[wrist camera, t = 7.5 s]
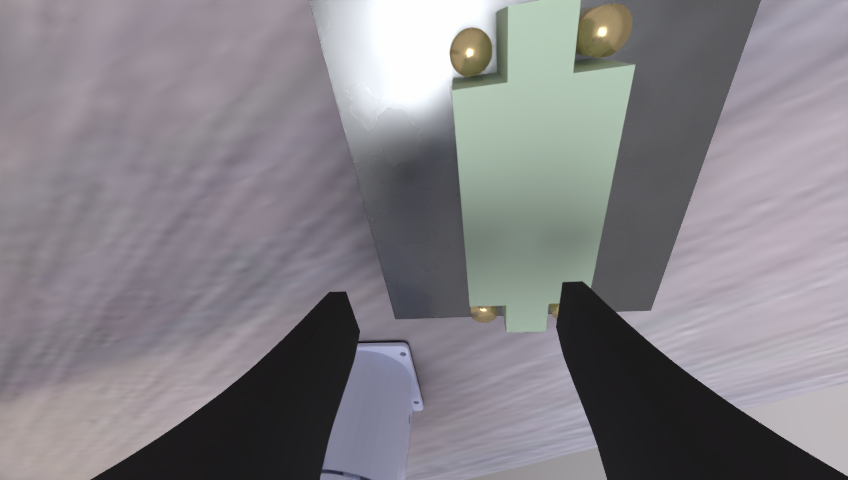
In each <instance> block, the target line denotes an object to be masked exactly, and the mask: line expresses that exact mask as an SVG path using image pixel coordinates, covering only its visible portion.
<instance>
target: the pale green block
mask: <svg viewBox="0 0 848 480" xmlns="http://www.w3.org/2000/svg"><path fill="white" fill-rule="evenodd" d="M580 4H581V0H538V1H533V2H527V3H521V4H516V5H510V6H507V7H505V8H503V9H501V10H499V11H497V12H496V56H497V72H495V73H488V74H481V75H477V76H473V77H461V78H454V79H453V80H452V99H453V111H454V123H455V135H456V147H457V159H458V171H459V183H460V195H461V207H462V219H463V231H464V243H465V255H466V267H467V279H468V291H469V303H470V307H476V306H502V310H503V316H504V322H505V328H506V332H545V331H546V324H547V315H548V305H549V304H555V303H560V296H561V289H562V282H576V281H583V282H584V283H585V284H587V285H588V286H589V287H590V288H591V285H592V280H593V275H594V270H595V265H596V260H597V255H598V250H599V245H600V240H601V235H602V230H603V225H604V220H605V215H606V210H607V205H608V200H609V195H610V190H611V185H612V180H613V175H614V170H615V165H616V160H617V155H618V150H619V145H620V140H621V135H622V130H623V125H624V120H625V115H626V110H627V105H628V100H629V95H630V90H631V85H632V80H633V75H634V70H635V64H630V63H624V62H618V61H612V60H606V59H600V58H591V59H584V60H577V61H574V60H575V51H576V41H577V32H578V22H579V13H580Z"/></svg>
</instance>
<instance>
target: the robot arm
mask: <svg viewBox="0 0 848 480" xmlns="http://www.w3.org/2000/svg"><path fill="white" fill-rule="evenodd" d="M556 328H557V332H558V336H559V340H560V344H561V348H562V352H563V355H564V359H565V361H566V364H567V367H568V369H569V372H570V374H571V377H572V380H573V382H574V385H575V387H576V390H577V392H578V395H579V398H580V400H581V403H582V405H583V408H584V410H585V413H586V416H587V418H588V421H589V423H590V426H591V428H592V431H593V434H594V437H595V440H596V443H597V446H598V449H599V452H600V456H601V459H602V463H603V466H604V470H605V473H606V477H607V480H848V476H846V475H844V474H843V473H841V472H839V471H837V470H836V469H834V468H832V467H831V466H829V465H827V464H825V463H824V462H822V461H820V460H819V459H817V458H815V457H814V456H812V455H810V454H809V453H807V452H805V451H804V450H802V449H800V448H799V447H797V446H795V445H794V444H792V443H791V442H789V441H787V440H786V439H784V438H783V437H781V436H779V435H778V434H776V433H775V432H773V431H772V430H770V429H769V428H767V427H765V426H764V425H762V424H761V423H759V422H758V421H756V420H755V419H753V418H752V417H750V416H748V415H747V414H745V413H744V412H742V411H741V410H739V409H738V408H736V407H735V406H733V405H732V404H730V403H729V402H728V401H726V400H725V399H723V398H722V397H720V396H719V395H718V394H716V393H715V392H713V391H712V390H711V389H709V388H708V387H706V386H705V385H704V384H702V383H701V382H699V381H698V380H697V379H695V378H694V377H693V376H691V375H690V374H688V373H687V372H686V371H685V370H683V369H682V368H681V367H679V366H678V365H677V364H675V363H674V362H673V361H672V360H670V359H669V358H668V357H667V356H666V355H664V354H663V353H662V352H661V351H659V350H658V349H657V348H656V347H654V346H653V345H652V344H651V343H650V342H649V341H647V340H646V339H645V338H644V337H643V336H642V335H640V334H639V333H638V332H637V331H636V330H635V329H634V328H633V327H631V326H630V325H629V324H628V323H627V322H626V321H625V320H624V319H623V318H621V317H620V316H619V315H618V314H617V313H616V312H615V311H614V310H613V309H612V308H611V307H610V306H609V305H608V304H606V303H605V302H604V301H603V300H602V299H601V298H600V297H599V296H598V295H597V294H596V293H595V292H594V291H593V290H592V289H591V288H590V287H589V286H588V285H587V284H585V283H584V282H583V281H576V282H562V289H561V296H560V303H559V310H558V317H557V325H556ZM359 334H360V330H359V327H358V324H357V322H356V319H355V316H354V313H353V310H352V308H351V305H350V302H349V299H348V296H347V293H346V292H329V293H328V294H327V295H326V296H325V297H324V298H323V299H322V300H321V301H320V302H319V303H318V304H317V305H316V306H315V307H314V308H313V309H312V310H311V311H310V312H309V313H308V314H307V315H306V316H305V318H304V319H303V320H302V321H301V322H300V323H299V324H298V325H297V326H296V327H295V328H294V329H293V330H292V331H291V332H290V333H289V334H288V335H287V336H286V337H285V338H284V339H283V340H282V341H280V342H279V343H278V344H277V345H276V346H275V347H274V348H273V349H272V350H271V351H270V352H269V353H268V354H267V355H265V356H264V357H263V358H262V359H261V360H260V361H259V362H258V363H257V364H256V365H255V366H253V367H252V368H251V369H250V370H249V371H248V372H247V373H245V374H244V375H243V376H242V377H241V378H239V379H238V380H237V381H236V382H234V383H233V384H232V385H231V386H230V387H228V388H227V389H226V390H225V391H223V392H222V393H221V394H219V395H218V396H217V397H216V398H214V399H213V400H211V401H210V402H209V403H207V404H206V405H205V406H203V407H202V408H201V409H199V410H198V411H196V412H195V413H194V414H192V415H191V416H190V417H188V418H187V419H185V420H184V421H183V422H181V423H180V424H178V425H177V426H175V427H174V428H173V429H171V430H170V431H168V432H167V433H165V434H164V435H162V436H161V437H159V438H158V439H156V440H155V441H153V442H151V443H150V444H148V445H147V446H145V447H144V448H142V449H141V450H139V451H137V452H136V453H134V454H133V455H131V456H129V457H128V458H126V459H125V460H123V461H121V462H120V463H118V464H116V465H115V466H113V467H111V468H110V469H108V470H106V471H104V472H103V473H101V474H99V475H98V476H96V477H94V478H93V479H91V480H405V475H406V467H407V458H408V449H409V440H410V431H411V423H412V414H413V411H422V410H423V407H424V404H423V400H422V397H421V393H420V389H419V385H418V381H417V377H416V373H415V369H414V365H413V361H412V358H411V354H410V350H409V346H408V345H407V344H406V343H402V342H399V343H358V340H359Z"/></svg>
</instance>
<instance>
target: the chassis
mask: <svg viewBox="0 0 848 480" xmlns="http://www.w3.org/2000/svg"><path fill="white" fill-rule="evenodd" d="M533 1H538V0H309V3H310V6H311V10H312V14H313V17H314V21H315V25H316V28H317V32H318V36H319V39H320V43H321V47H322V50H323V54H324V58H325V62H326V65H327V69H328V73H329V76H330V80H331V84H332V87H333V91H334V95H335V98H336V102H337V106H338V109H339V113H340V117H341V120H342V124H343V128H344V131H345V135H346V139H347V142H348V146H349V150H350V154H351V157H352V161H353V165H354V168H355V172H356V176H357V179H358V183H359V187H360V190H361V194H362V198H363V201H364V205H365V209H366V212H367V216H368V220H369V223H370V227H371V231H372V235H373V238H374V242H375V246H376V249H377V253H378V257H379V260H380V264H381V268H382V271H383V275H384V279H385V282H386V286H387V290H388V293H389V297H390V301H391V304H392V308H393V312H394V316H395V319H416V318H445V317H472V318H473V319H474V320H476V321H478V322H490V321H492V320H494V319H495V318H496V316H503V310H502V306H476V307H470V303H469V291H468V279H467V267H466V255H465V243H464V231H463V219H462V207H461V195H460V183H459V171H458V159H457V147H456V135H455V123H454V111H453V99H452V80H453V79H454V78H461V77H473V76H477V75H481V74H488V73H495V72H497V56H496V12H497V11H499V10H501V9H503V8H505V7H507V6H510V5H516V4H521V3H527V2H533ZM760 1H761V0H581V4H580V13H579V22H578V32H577V41H576V51H575V60H574V61H577V60H584V59H591V58H600V59H606V60H612V61H618V62H624V63H630V64H635V70H634V75H633V80H632V85H631V90H630V95H629V100H628V105H627V110H626V115H625V120H624V125H623V130H622V135H621V140H620V145H619V150H618V155H617V160H616V165H615V170H614V175H613V180H612V185H611V190H610V195H609V200H608V205H607V210H606V215H605V220H604V225H603V230H602V235H601V240H600V245H599V250H598V255H597V260H596V265H595V270H594V275H593V280H592V285H591V289H592V290H593V291H594V292H595V293H596V294H597V295H598V296H599V297H600V298H601V299H602V300H603V301H604V302H605V303H606V304H608V305H609V306H610V307H611V308H612V309H613V310H614V311H615V312H621V311H651V308H652V306H653V303H654V300H655V297H656V294H657V292H658V289H659V286H660V283H661V280H662V277H663V275H664V272H665V269H666V266H667V263H668V261H669V258H670V255H671V252H672V249H673V246H674V244H675V241H676V238H677V235H678V232H679V230H680V227H681V224H682V221H683V218H684V215H685V213H686V210H687V207H688V204H689V201H690V199H691V196H692V193H693V190H694V187H695V184H696V182H697V179H698V176H699V173H700V170H701V168H702V165H703V162H704V159H705V156H706V153H707V151H708V148H709V145H710V142H711V139H712V137H713V134H714V131H715V128H716V125H717V122H718V120H719V117H720V114H721V111H722V108H723V106H724V103H725V100H726V97H727V94H728V91H729V89H730V86H731V83H732V80H733V77H734V75H735V72H736V69H737V66H738V63H739V60H740V58H741V55H742V52H743V49H744V46H745V44H746V41H747V38H748V35H749V32H750V29H751V27H752V24H753V21H754V18H755V15H756V13H757V10H758V7H759V4H760ZM558 310H559V303H555V304H549V305H548V314H552V315H553V316H554V317H555V318H557V317H558Z"/></svg>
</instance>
